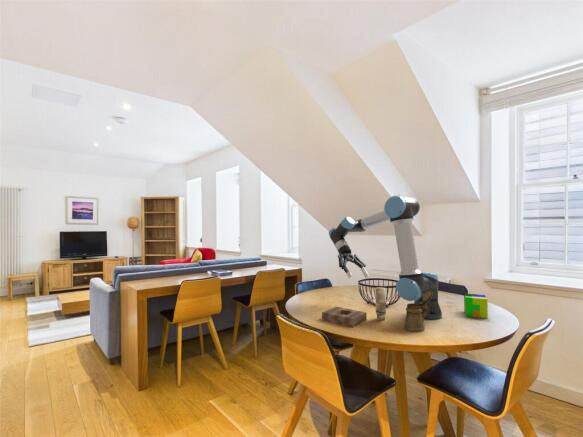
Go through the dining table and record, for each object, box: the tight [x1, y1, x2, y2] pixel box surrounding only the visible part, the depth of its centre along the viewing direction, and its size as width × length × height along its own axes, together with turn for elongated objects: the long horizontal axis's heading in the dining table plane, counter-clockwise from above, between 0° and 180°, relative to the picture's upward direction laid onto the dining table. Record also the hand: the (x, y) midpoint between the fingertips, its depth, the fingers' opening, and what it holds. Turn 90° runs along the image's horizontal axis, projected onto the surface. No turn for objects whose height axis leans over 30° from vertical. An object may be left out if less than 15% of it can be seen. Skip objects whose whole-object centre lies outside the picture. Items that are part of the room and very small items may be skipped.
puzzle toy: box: [463, 293, 489, 319], centre depth 171 cm, size 10×10×10 cm
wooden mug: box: [403, 290, 433, 333], centre depth 149 cm, size 9×14×18 cm, turn 91°
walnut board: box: [321, 306, 368, 328], centre depth 162 cm, size 18×14×4 cm
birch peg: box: [375, 287, 387, 322], centre depth 163 cm, size 5×5×16 cm
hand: (359, 276), depth 182 cm, fingers open, 13 cm apart
